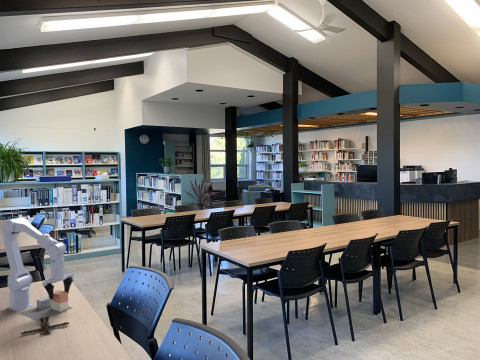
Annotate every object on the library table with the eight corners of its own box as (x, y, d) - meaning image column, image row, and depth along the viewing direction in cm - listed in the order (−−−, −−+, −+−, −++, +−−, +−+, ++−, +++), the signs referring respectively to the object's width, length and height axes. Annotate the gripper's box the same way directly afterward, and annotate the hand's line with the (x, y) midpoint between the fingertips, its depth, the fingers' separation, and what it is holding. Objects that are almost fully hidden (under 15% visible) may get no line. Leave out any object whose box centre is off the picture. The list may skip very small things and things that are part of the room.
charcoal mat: (18, 313, 170) (17, 313, 170) (53, 301, 184) (53, 301, 184) (37, 321, 161) (37, 320, 161) (73, 308, 175) (72, 307, 175)
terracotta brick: (50, 300, 174) (50, 292, 174) (58, 297, 178) (58, 289, 178) (60, 303, 170) (59, 295, 170) (68, 300, 174) (67, 292, 173)
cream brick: (51, 308, 175) (50, 300, 174) (58, 305, 178) (58, 297, 178) (60, 311, 170) (60, 303, 170) (68, 308, 174) (68, 300, 174)
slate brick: (41, 309, 174) (41, 301, 174) (36, 308, 176) (36, 299, 176) (57, 304, 180) (57, 296, 180) (52, 302, 183) (52, 294, 182)
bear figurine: (66, 311, 165) (70, 319, 152) (67, 321, 164) (70, 330, 152) (20, 321, 155) (20, 330, 143) (20, 331, 155) (20, 341, 143)
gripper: (47, 273, 165) (48, 302, 166) (76, 265, 177) (77, 293, 178) (39, 271, 169) (40, 300, 169) (68, 263, 181) (69, 290, 182)
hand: (59, 296), depth 174 cm, fingers open, 7 cm apart
